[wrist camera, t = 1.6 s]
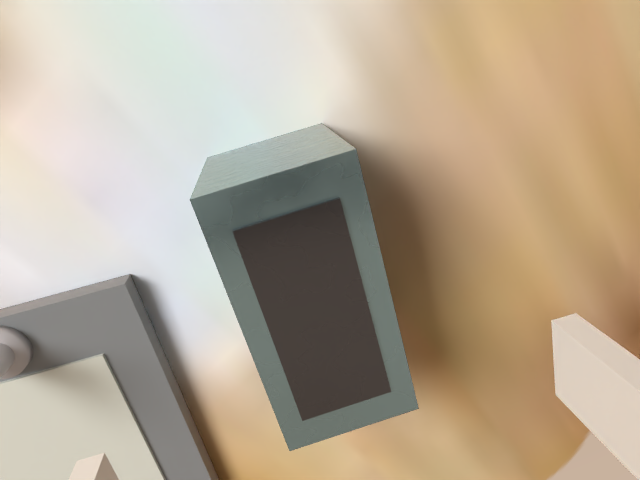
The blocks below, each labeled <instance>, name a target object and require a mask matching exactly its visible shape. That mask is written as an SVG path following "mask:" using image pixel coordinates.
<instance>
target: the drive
mask: <svg viewBox="0 0 640 480" xmlns="http://www.w3.org/2000/svg"><path fill="white" fill-rule="evenodd" d="M190 201H191V204H192V206H193V209H194V211H195V214H196V216H197V219H198V221H199V224H200V226H201V229H202V231H203V234H204V236H205V239H206V242H207V244H208V247H209V249H210V252H211V254H212V257H213V259H214V262H215V264H216V267H217V269H218V272H219V274H220V277H221V279H222V282H223V284H224V287H225V289H226V292H227V294H228V297H229V299H230V302H231V305H232V307H233V310H234V312H235V315H236V317H237V320H238V322H239V325H240V327H241V330H242V332H243V335H244V337H245V340H246V342H247V345H248V347H249V350H250V352H251V355H252V357H253V360H254V362H255V365H256V368H257V370H258V373H259V375H260V378H261V380H262V383H263V385H264V388H265V390H266V393H267V395H268V398H269V400H270V403H271V405H272V408H273V410H274V413H275V415H276V418H277V420H278V423H279V425H280V428H281V431H282V433H283V436H284V438H285V441H286V443H287V446H288V448H289V451H292V450H295V449H298V448H301V447H304V446H307V445H310V444H313V443H316V442H319V441H322V440H325V439H328V438H331V437H334V436H337V435H340V434H343V433H346V432H349V431H352V430H355V429H358V428H361V427H364V426H367V425H370V424H373V423H376V422H379V421H382V420H385V419H388V418H391V417H394V416H398V415H401V414H404V413H407V412H410V411H413V410H416V409H419V408H418V404H417V400H416V396H415V392H414V387H413V383H412V379H411V375H410V371H409V367H408V362H407V358H406V354H405V350H404V346H403V342H402V338H401V333H400V329H399V325H398V321H397V317H396V313H395V309H394V304H393V300H392V296H391V292H390V288H389V284H388V279H387V275H386V271H385V267H384V263H383V259H382V255H381V250H380V246H379V242H378V238H377V234H376V230H375V226H374V221H373V217H372V213H371V209H370V205H369V201H368V196H367V192H366V188H365V184H364V180H363V176H362V172H361V167H360V163H359V159H358V155H357V151H356V149H355V148H354V147H353V146H351V145H350V144H349V143H347V142H346V141H345V140H343V139H342V138H341V137H339V136H338V135H337V134H335V133H334V132H333V131H331V130H330V129H329V128H327V127H326V126H325V125H323V124H322V123H321V124H317V125H314V126H311V127H307V128H304V129H301V130H297V131H294V132H291V133H288V134H284V135H281V136H278V137H274V138H271V139H268V140H264V141H261V142H258V143H254V144H251V145H248V146H244V147H241V148H238V149H234V150H231V151H228V152H224V153H221V154H218V155H214V156H211V157H208V158H207V160H206V162H205V164H204V167H203V169H202V172H201V174H200V176H199V179H198V181H197V184H196V186H195V188H194V191H193V193H192V196H191V198H190Z"/></svg>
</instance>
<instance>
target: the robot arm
mask: <svg viewBox="0 0 640 480" xmlns="http://www.w3.org/2000/svg"><path fill="white" fill-rule="evenodd" d="M551 323H552V341H553V359H554V376H555V394H556V396H557V397H558V398H559V399H560V400H561V401H562V402H563V403H564V404H565V405H566V406H567V407H568V408H569V409H570V410H571V411H572V412H573V413H574V414H575V415H576V416H577V417H578V418H579V420H580V421H581V422H582V423H583V424H584V425H585V426H586V427H587V428H588V429H589V430H590V431H591V432H592V433H593V434H594V435H595V436H596V437H597V438H598V439H599V440H600V441H601V442H602V443H603V444H604V445H605V446H606V447H607V448H608V450H609V451H611V453H612V454H613V455H614V456H615V457H616V458H617V459H618V460H619V461H620V462H621V463H622V464H623V465H624V466H625V467H626V468H627V469H628V470H629V471H630V472H631V473H632V474H633V475H634V476H635V478H637V480H640V359H638V358H637V357H636V356H634V355H633V354H631V353H630V352H629V351H627V350H626V349H625V348H623V347H622V346H620V345H619V344H618V343H616V342H615V341H614V340H612V339H611V338H609V337H608V336H607V335H605V334H604V333H603V332H601V331H600V330H598V329H597V328H596V327H594V326H593V325H592V324H590V323H589V322H587V321H586V320H585V319H583V318H582V317H580V316H579V315H578V314H576V313H575V314H571V315H568V316H564V317H561V318H558V319H554V320H551ZM69 480H119V479H118V477H117V475H116V473H115V471H114V469H113V468H112V466H111V464H110V462H109V460H108V458H107V456H106V454H105V453H101V454H98V455H95V456H91V457H88V458H85V459H81V460H78V461H76V464H75V466H74V468H73V471H72V473H71V475H70V477H69Z"/></svg>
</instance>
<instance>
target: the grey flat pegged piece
mask: <svg viewBox="0 0 640 480" xmlns="http://www.w3.org/2000/svg"><path fill="white" fill-rule="evenodd" d="M101 453H105V454H106V456H107V458H108V460H109V462H110V464H111V466H112V468H113V469H114V471H115V473H116V475H117V477H118V479H119V480H219V478H218V476H217V474H216V471H215V469H214V467H213V464H212V462H211V460H210V458H209V455H208V453H207V451H206V448H205V446H204V444H203V441H202V439H201V437H200V434H199V432H198V430H197V427H196V425H195V423H194V421H193V418H192V416H191V414H190V411H189V409H188V407H187V404H186V402H185V400H184V397H183V395H182V393H181V390H180V388H179V386H178V384H177V381H176V379H175V377H174V374H173V372H172V370H171V367H170V365H169V363H168V360H167V358H166V356H165V353H164V351H163V349H162V346H161V344H160V342H159V340H158V337H157V335H156V333H155V330H154V328H153V326H152V323H151V321H150V319H149V316H148V314H147V312H146V309H145V307H144V305H143V303H142V300H141V298H140V296H139V293H138V291H137V289H136V286H135V284H134V282H133V279H132V277H131V275H130V274H129V275H125V276H121V277H118V278H114V279H110V280H107V281H103V282H99V283H96V284H92V285H88V286H85V287H81V288H77V289H74V290H70V291H66V292H63V293H59V294H55V295H51V296H48V297H44V298H40V299H37V300H33V301H29V302H26V303H22V304H18V305H15V306H11V307H7V308H4V309H0V480H69V477H70V475H71V473H72V471H73V468H74V466H75V464H76V461H78V460H81V459H85V458H88V457H91V456H95V455H98V454H101Z"/></svg>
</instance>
